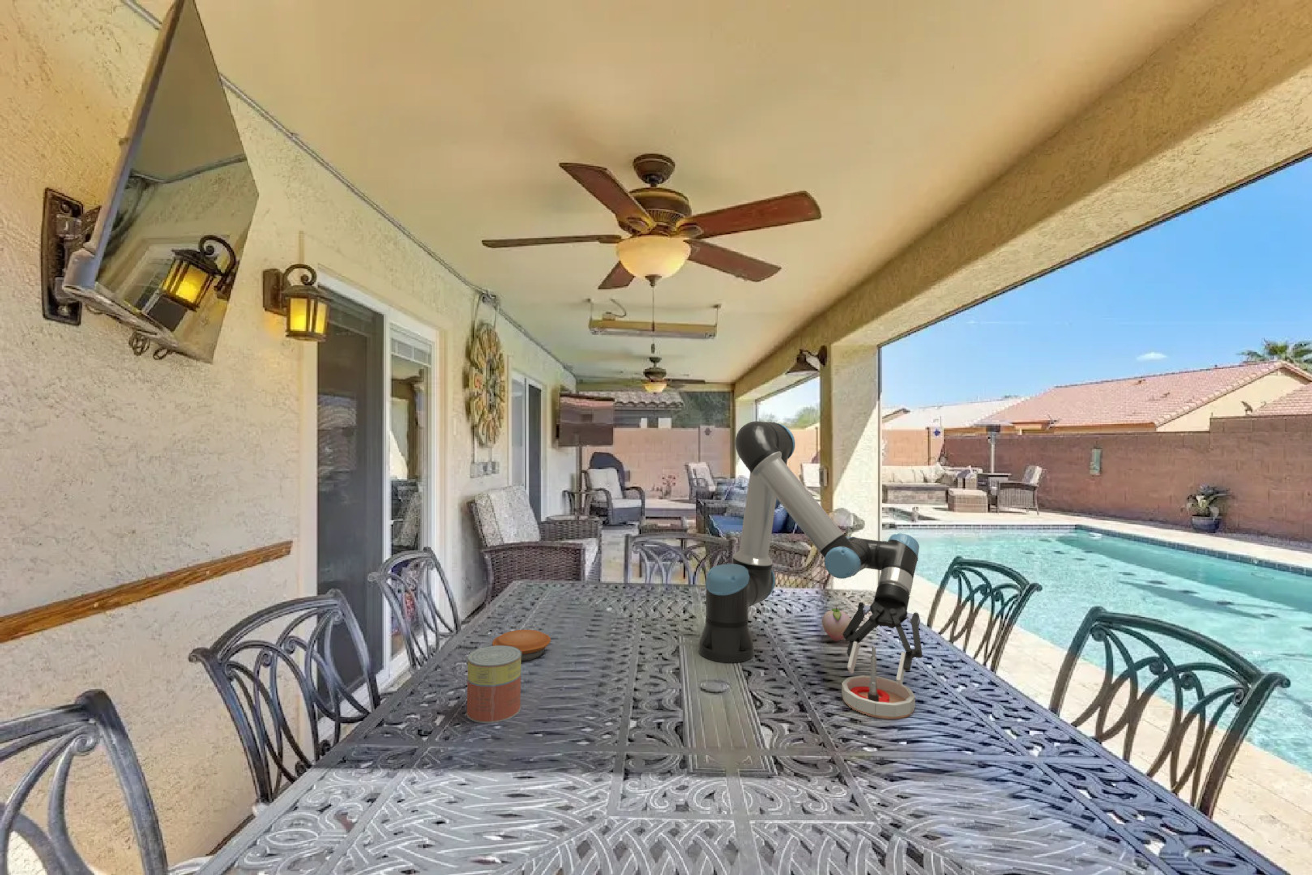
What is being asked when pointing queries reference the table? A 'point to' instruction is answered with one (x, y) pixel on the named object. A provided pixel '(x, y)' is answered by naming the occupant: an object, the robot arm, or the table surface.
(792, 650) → the table surface
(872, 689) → the tow hook
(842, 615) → the decorative fruit
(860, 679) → the round tray
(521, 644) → the pie
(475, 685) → the canned food
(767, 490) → the robot arm
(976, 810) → the table surface
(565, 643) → the table surface
